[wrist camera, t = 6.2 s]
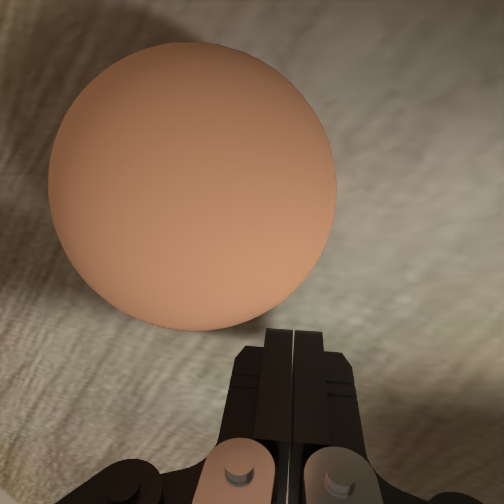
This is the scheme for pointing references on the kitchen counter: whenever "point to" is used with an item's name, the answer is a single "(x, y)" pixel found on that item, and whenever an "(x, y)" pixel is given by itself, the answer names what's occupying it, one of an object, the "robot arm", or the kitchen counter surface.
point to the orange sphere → (192, 186)
